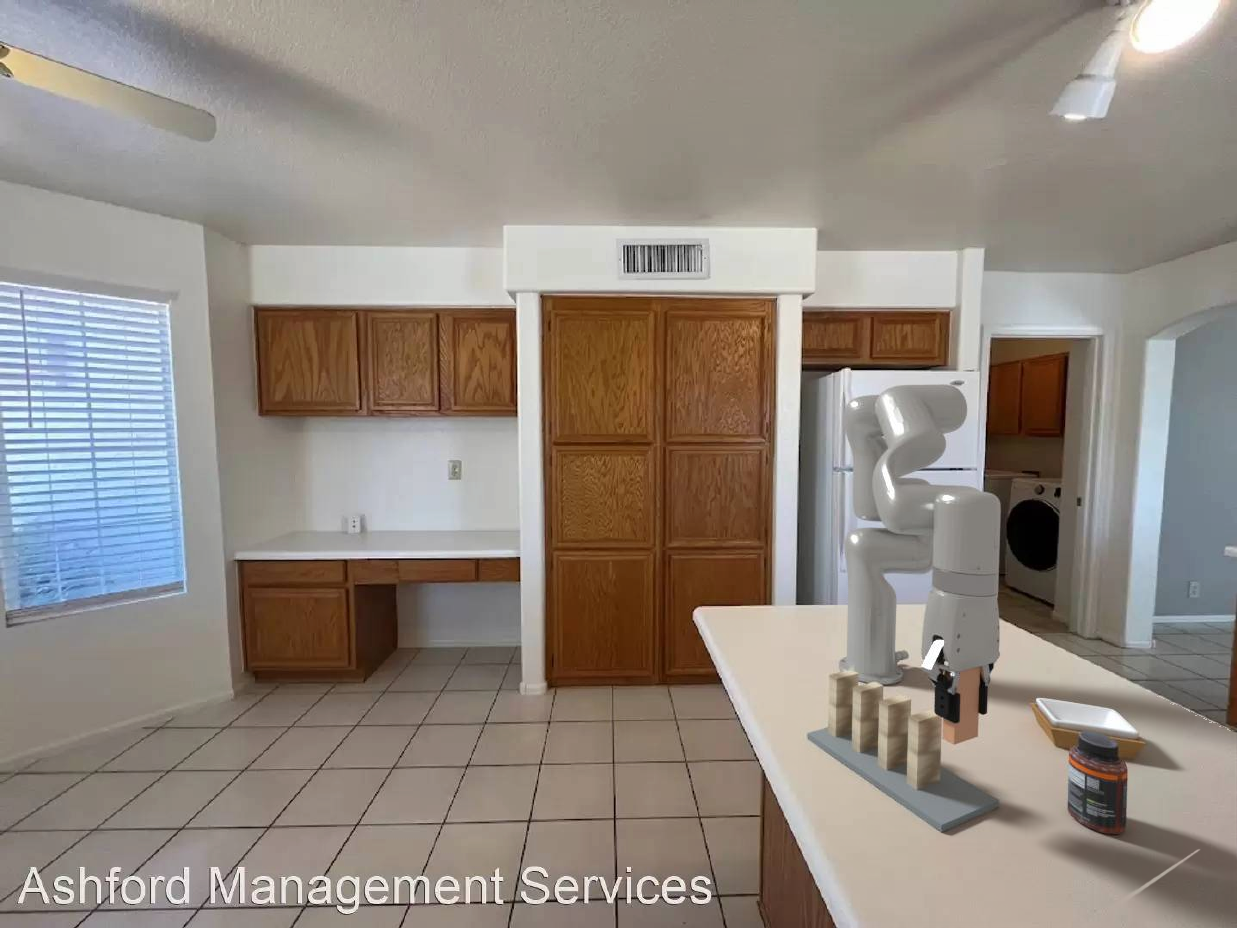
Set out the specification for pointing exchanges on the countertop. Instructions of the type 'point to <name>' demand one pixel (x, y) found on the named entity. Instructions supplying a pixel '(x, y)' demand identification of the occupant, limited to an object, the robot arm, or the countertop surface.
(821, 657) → the countertop surface
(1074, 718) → the soap dish
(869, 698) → the domino
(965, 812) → the runway mat
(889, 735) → the domino
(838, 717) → the domino
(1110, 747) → the supplement bottle
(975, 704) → the domino
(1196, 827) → the countertop surface
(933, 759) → the domino
